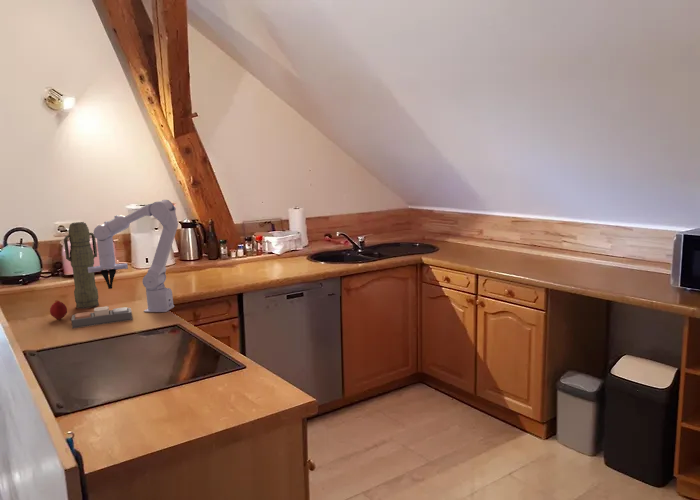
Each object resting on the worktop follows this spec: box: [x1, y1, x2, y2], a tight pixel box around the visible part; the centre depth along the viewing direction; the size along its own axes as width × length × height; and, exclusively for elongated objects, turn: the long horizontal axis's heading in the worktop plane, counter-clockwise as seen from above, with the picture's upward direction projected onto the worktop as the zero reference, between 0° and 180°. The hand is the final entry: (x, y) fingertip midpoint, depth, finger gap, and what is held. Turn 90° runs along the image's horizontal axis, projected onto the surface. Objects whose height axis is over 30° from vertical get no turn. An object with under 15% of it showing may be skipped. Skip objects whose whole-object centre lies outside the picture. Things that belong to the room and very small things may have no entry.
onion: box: [49, 299, 68, 321], centre depth 220 cm, size 6×6×8 cm
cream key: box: [93, 305, 110, 316], centre depth 216 cm, size 5×5×3 cm
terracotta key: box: [74, 311, 92, 319], centre depth 213 cm, size 5×5×3 cm
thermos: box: [63, 221, 99, 309], centre depth 237 cm, size 9×12×35 cm
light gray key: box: [112, 306, 128, 314], centre depth 218 cm, size 5×5×3 cm
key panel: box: [70, 307, 133, 329], centre depth 216 cm, size 21×8×3 cm, turn 113°
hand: (110, 288), depth 229 cm, fingers closed
